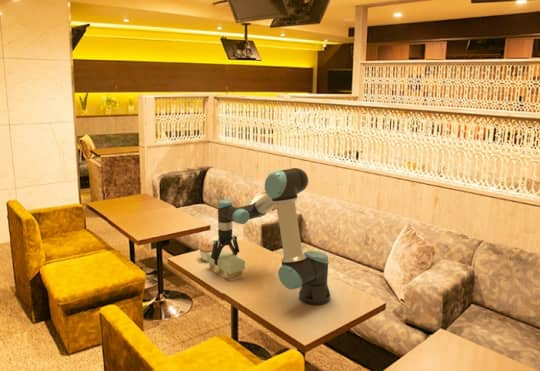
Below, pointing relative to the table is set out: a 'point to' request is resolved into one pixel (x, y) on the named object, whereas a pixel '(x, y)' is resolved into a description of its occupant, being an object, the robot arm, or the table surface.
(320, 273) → the robot arm
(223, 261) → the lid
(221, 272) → the napkin box
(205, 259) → the lidded jar
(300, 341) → the table surface
